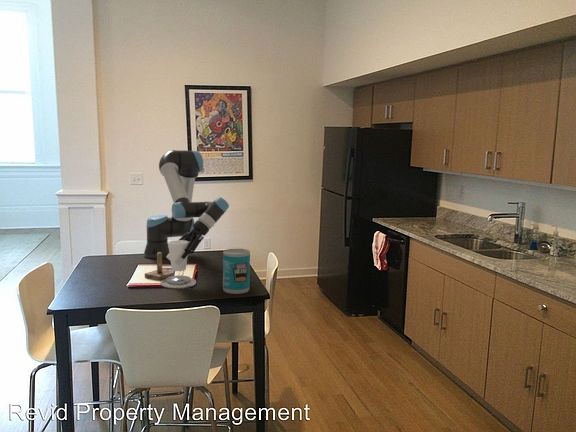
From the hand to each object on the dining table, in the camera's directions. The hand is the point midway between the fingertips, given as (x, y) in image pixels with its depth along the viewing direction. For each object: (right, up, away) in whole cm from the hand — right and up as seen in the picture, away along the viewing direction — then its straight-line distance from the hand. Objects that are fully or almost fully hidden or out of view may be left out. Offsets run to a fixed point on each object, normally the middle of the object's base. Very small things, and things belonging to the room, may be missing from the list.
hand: (172, 261), depth 220 cm
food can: (+30, -13, -3) cm, 33 cm away
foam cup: (+2, -4, +3) cm, 6 cm away
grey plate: (+2, -11, +4) cm, 12 cm away
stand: (-10, -9, +14) cm, 20 cm away
